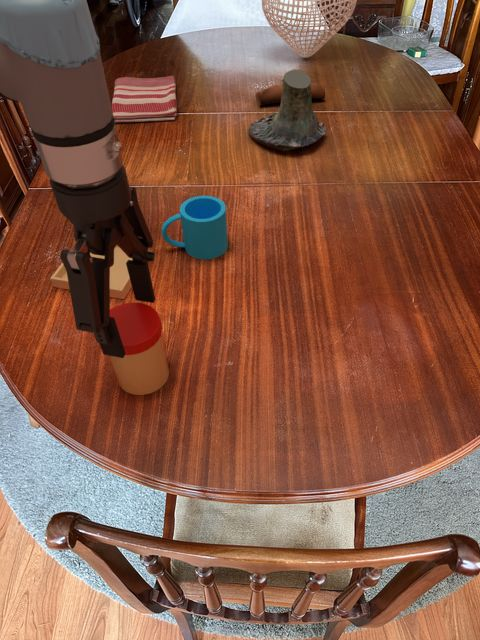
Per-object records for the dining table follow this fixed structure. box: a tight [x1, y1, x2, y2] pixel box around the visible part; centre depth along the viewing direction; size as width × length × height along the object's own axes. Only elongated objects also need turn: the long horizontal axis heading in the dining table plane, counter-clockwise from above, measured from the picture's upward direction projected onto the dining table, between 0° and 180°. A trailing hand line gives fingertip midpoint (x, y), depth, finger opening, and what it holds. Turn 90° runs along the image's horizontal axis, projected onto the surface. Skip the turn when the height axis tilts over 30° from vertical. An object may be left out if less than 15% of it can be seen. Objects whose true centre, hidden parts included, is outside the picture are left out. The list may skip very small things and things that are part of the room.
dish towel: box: [111, 75, 178, 123], centre depth 135 cm, size 17×23×3 cm
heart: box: [261, 0, 357, 58], centre depth 150 cm, size 28×16×22 cm, turn 102°
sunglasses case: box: [255, 82, 326, 107], centre depth 137 cm, size 18×7×7 cm
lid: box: [110, 302, 163, 355], centre depth 68 cm, size 8×8×2 cm
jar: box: [108, 334, 170, 396], centre depth 72 cm, size 8×8×10 cm
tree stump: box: [248, 69, 327, 152], centre depth 119 cm, size 18×20×18 cm
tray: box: [49, 245, 153, 300], centre depth 91 cm, size 13×13×2 cm
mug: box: [161, 195, 229, 260], centre depth 93 cm, size 12×8×8 cm
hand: (130, 325), depth 67 cm, fingers open, 10 cm apart
